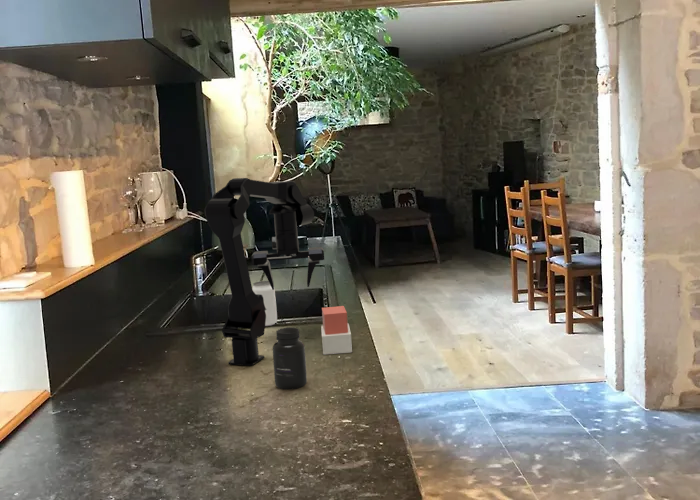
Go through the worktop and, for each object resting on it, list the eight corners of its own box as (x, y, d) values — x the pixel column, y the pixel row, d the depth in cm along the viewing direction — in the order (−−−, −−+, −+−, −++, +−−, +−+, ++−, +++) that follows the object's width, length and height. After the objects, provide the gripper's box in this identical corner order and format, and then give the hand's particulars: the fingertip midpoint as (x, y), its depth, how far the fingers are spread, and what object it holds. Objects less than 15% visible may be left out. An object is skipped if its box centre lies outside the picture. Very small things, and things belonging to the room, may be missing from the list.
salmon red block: (348, 332, 167) (346, 312, 167) (325, 334, 167) (324, 314, 166) (344, 325, 174) (343, 305, 173) (323, 327, 174) (321, 307, 173)
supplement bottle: (278, 392, 143) (273, 336, 141) (272, 382, 149) (268, 328, 147) (310, 387, 145) (306, 331, 143) (303, 377, 151) (299, 324, 149)
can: (250, 325, 197) (246, 284, 195) (263, 320, 203) (259, 280, 201) (269, 327, 194) (265, 285, 192) (281, 321, 200) (278, 280, 198)
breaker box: (352, 352, 166) (350, 334, 166) (323, 354, 166) (321, 336, 165) (349, 340, 176) (348, 323, 176) (322, 342, 176) (321, 325, 175)
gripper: (321, 223, 188) (325, 279, 190) (252, 228, 187) (257, 284, 190) (322, 228, 177) (326, 287, 179) (249, 233, 176) (254, 293, 179)
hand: (290, 288), depth 182 cm, fingers open, 9 cm apart
